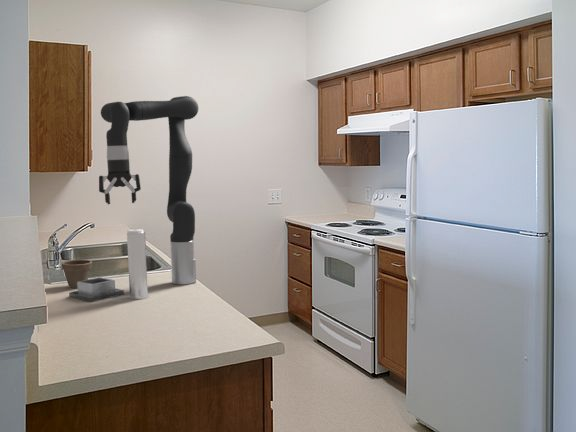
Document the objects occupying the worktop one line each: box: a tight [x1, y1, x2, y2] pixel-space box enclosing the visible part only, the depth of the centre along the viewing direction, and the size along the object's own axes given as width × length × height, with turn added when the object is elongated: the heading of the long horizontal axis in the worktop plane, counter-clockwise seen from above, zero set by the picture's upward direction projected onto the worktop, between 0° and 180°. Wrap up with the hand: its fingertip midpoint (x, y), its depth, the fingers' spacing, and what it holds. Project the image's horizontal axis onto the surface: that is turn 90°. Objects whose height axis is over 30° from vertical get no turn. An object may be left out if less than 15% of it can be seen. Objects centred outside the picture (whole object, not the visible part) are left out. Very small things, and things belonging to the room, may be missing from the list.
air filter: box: [126, 228, 149, 300], centre depth 196 cm, size 6×6×25 cm
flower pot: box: [61, 259, 93, 289], centre depth 216 cm, size 12×11×10 cm
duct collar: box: [68, 276, 125, 303], centre depth 201 cm, size 14×14×6 cm
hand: (121, 203), depth 195 cm, fingers open, 8 cm apart
